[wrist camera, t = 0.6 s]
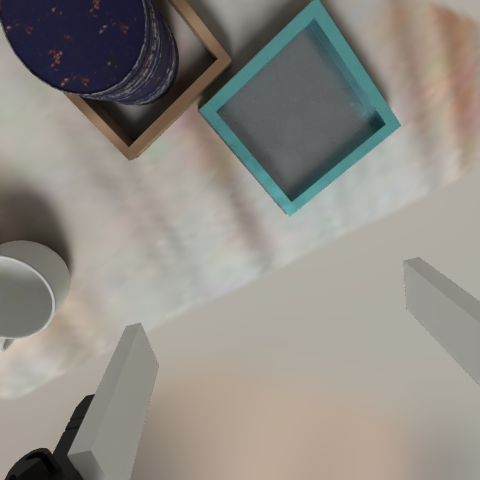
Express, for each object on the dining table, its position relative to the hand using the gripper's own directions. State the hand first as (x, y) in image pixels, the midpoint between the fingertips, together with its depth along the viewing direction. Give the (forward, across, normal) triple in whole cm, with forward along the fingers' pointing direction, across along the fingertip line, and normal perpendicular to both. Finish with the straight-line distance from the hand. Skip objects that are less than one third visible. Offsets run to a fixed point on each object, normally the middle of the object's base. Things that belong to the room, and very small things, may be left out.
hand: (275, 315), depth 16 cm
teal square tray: (+27, +8, +7) cm, 29 cm away
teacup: (+27, -30, -5) cm, 41 cm away
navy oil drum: (+27, -8, +17) cm, 33 cm away
